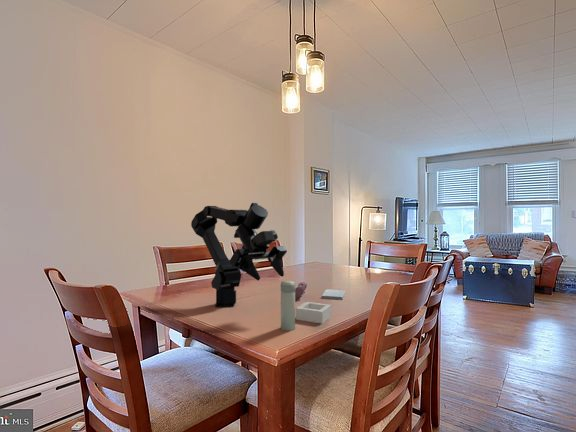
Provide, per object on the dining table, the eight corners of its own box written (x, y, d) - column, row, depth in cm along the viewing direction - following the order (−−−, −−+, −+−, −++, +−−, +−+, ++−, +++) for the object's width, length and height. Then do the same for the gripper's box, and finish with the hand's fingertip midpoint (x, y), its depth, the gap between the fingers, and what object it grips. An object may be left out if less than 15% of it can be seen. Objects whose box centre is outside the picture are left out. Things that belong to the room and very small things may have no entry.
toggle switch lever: (280, 331, 88) (281, 283, 89) (280, 325, 93) (280, 280, 93) (295, 330, 89) (296, 283, 89) (294, 325, 93) (294, 280, 93)
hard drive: (342, 297, 123) (345, 290, 135) (321, 295, 125) (325, 288, 137) (342, 301, 123) (345, 293, 135) (321, 299, 125) (325, 292, 137)
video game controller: (298, 304, 122) (307, 288, 122) (288, 298, 123) (296, 282, 123) (302, 298, 132) (310, 283, 132) (292, 292, 133) (300, 277, 132)
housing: (295, 319, 99) (295, 308, 99) (306, 312, 106) (306, 301, 106) (322, 323, 95) (322, 311, 95) (331, 315, 103) (331, 304, 103)
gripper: (235, 221, 94) (258, 263, 86) (283, 221, 107) (306, 258, 99) (221, 246, 100) (241, 288, 92) (268, 244, 113) (289, 280, 104)
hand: (271, 277), depth 96 cm, fingers open, 9 cm apart
